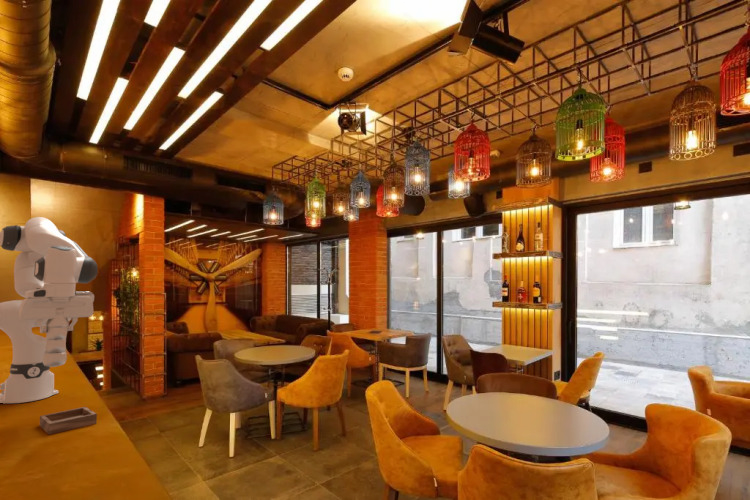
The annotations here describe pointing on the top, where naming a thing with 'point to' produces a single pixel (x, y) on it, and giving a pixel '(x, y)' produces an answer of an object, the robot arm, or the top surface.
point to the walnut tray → (67, 420)
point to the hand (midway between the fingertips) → (56, 331)
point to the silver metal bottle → (56, 340)
